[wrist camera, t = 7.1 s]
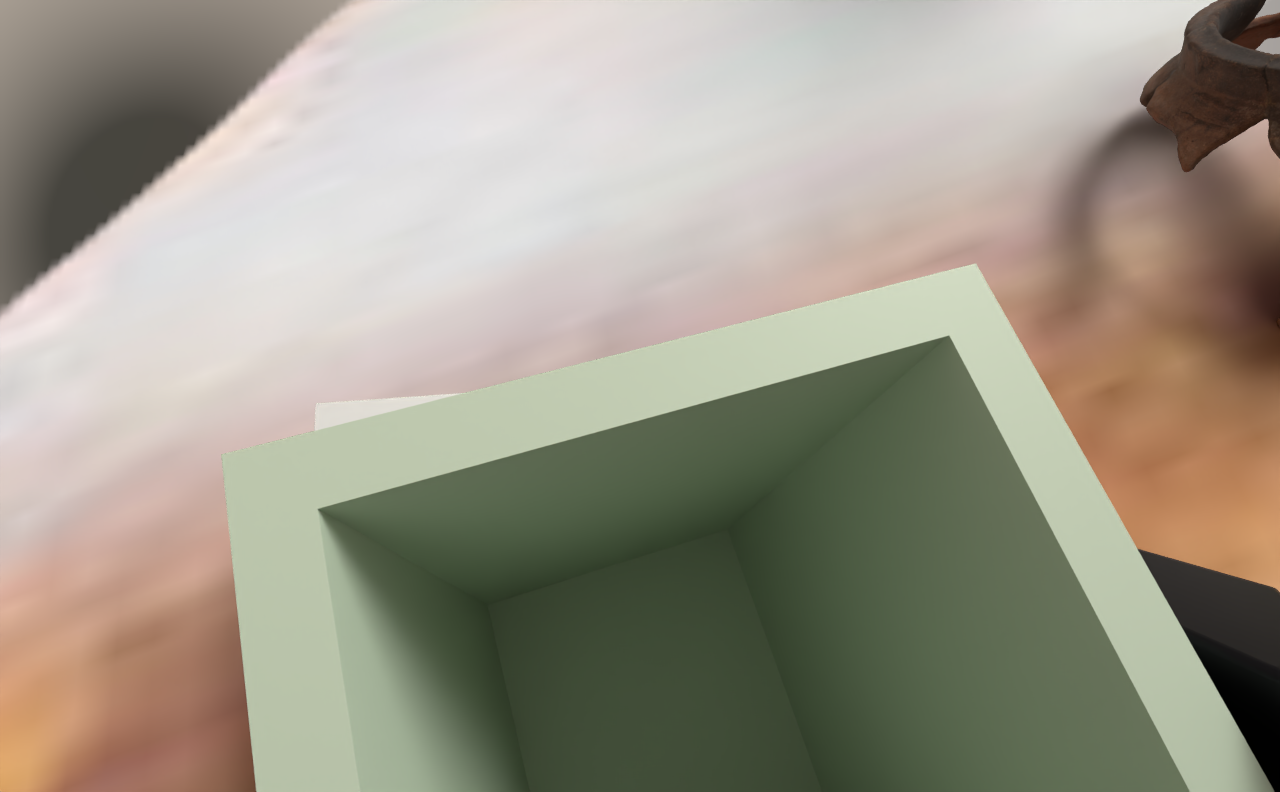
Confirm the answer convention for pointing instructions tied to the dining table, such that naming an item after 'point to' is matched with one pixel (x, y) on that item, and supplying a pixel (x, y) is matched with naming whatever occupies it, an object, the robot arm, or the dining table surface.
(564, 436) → the green crate
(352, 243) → the dining table surface
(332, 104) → the dining table surface
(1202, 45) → the pottery mug
